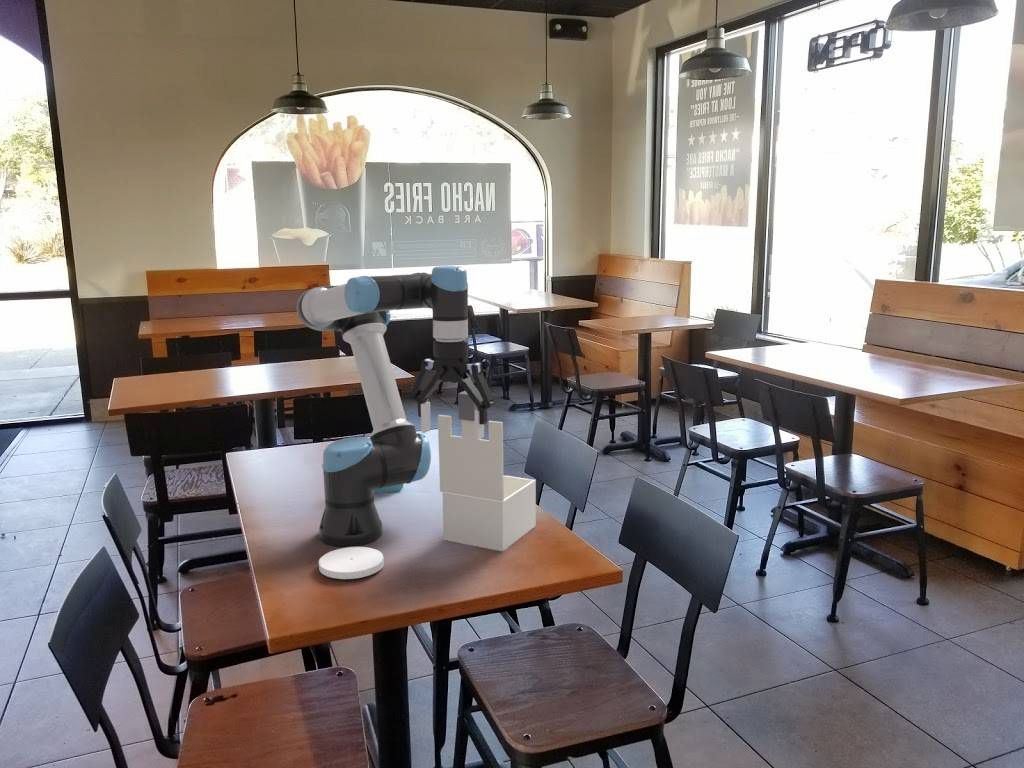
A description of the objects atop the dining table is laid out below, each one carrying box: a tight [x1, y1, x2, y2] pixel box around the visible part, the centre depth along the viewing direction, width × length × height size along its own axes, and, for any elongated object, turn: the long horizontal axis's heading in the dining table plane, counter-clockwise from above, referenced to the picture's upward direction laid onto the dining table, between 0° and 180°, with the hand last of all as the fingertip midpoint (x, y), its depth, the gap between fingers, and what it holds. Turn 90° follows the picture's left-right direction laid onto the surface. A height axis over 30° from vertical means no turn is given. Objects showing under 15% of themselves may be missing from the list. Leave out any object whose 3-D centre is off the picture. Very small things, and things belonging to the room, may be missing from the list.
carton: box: [442, 474, 537, 552], centre depth 202 cm, size 18×16×12 cm
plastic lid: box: [318, 546, 385, 580], centre depth 182 cm, size 14×14×2 cm
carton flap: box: [437, 390, 504, 502], centre depth 190 cm, size 25×17×3 cm
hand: (452, 435), depth 182 cm, fingers open, 13 cm apart
